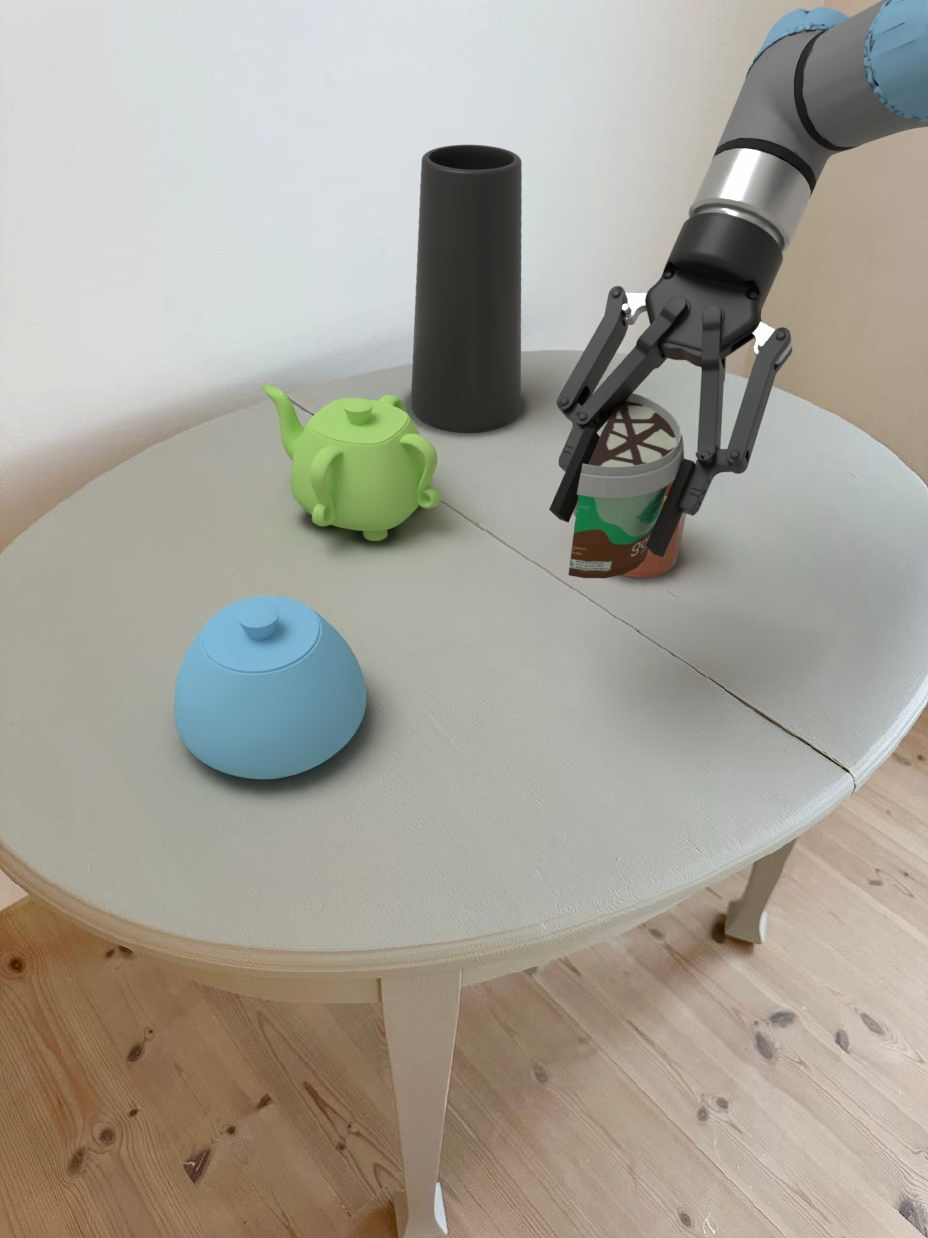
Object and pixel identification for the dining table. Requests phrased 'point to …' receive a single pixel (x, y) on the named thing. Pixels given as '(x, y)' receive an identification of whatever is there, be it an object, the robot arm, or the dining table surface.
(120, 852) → the dining table surface
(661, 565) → the mug
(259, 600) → the sugar bowl
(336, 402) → the teapot
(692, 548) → the dining table surface
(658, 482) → the food container
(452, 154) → the vase
